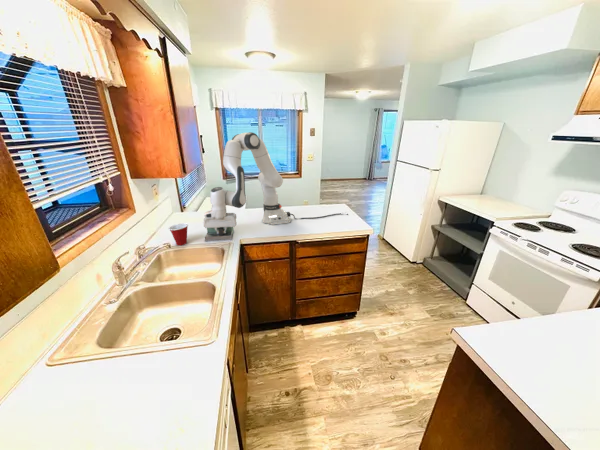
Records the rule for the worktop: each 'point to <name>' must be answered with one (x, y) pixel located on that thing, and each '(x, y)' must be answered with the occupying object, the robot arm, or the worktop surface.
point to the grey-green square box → (214, 236)
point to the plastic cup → (179, 233)
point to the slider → (220, 230)
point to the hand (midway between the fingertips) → (221, 233)
